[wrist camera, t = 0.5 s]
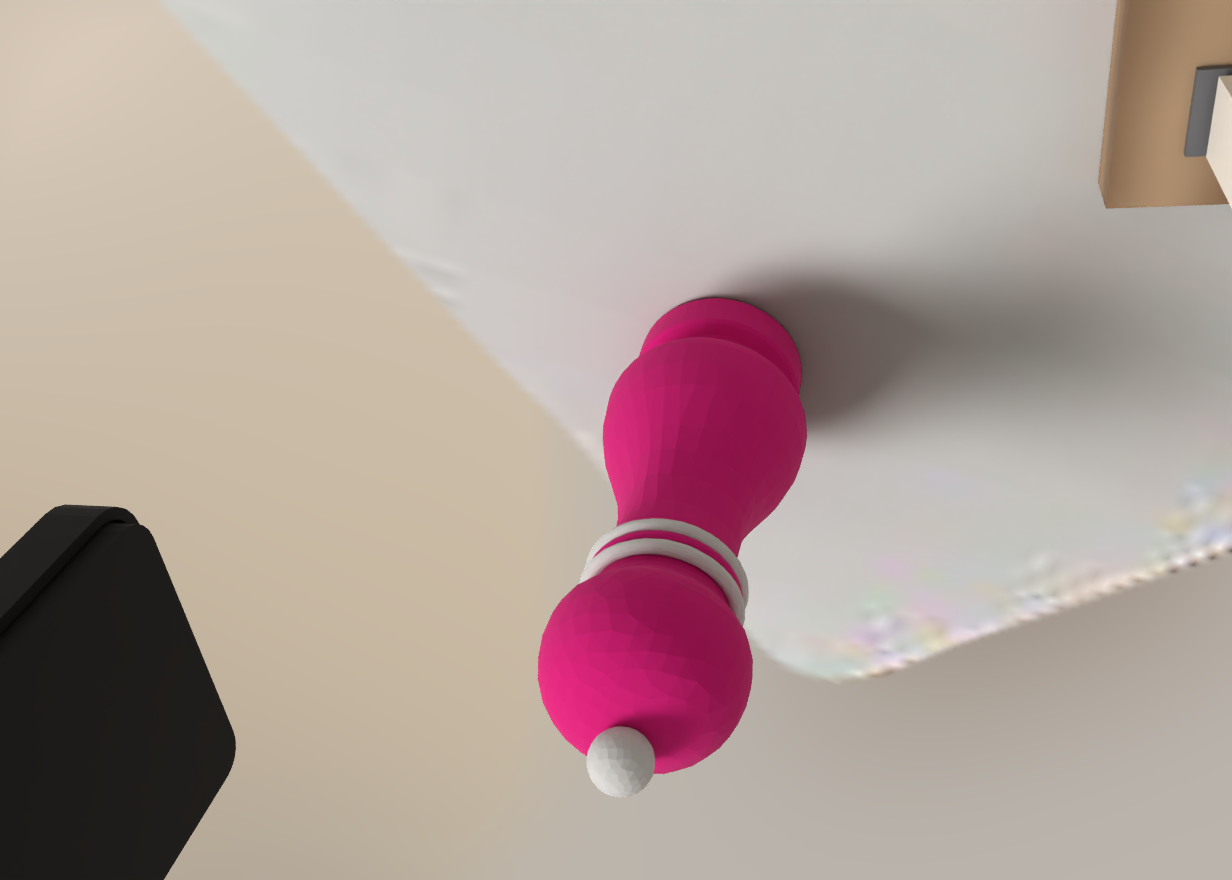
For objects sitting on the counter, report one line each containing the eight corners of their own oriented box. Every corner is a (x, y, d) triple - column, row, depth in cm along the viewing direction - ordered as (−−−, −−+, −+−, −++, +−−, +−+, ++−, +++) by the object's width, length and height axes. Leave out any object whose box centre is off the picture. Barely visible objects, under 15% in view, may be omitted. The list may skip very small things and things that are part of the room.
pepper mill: (846, 326, 43) (803, 758, 27) (773, 467, 47) (699, 908, 32) (662, 256, 43) (512, 650, 27) (607, 404, 47) (450, 815, 31)
